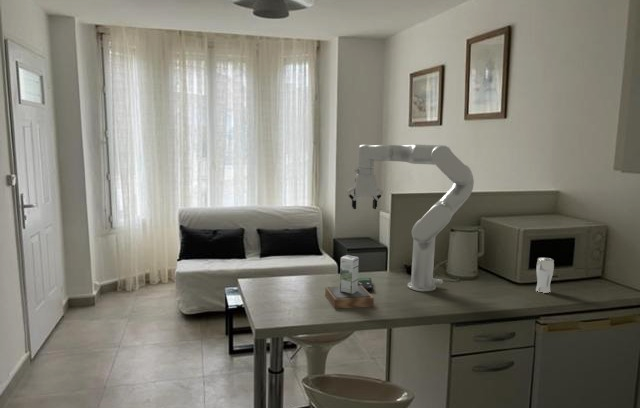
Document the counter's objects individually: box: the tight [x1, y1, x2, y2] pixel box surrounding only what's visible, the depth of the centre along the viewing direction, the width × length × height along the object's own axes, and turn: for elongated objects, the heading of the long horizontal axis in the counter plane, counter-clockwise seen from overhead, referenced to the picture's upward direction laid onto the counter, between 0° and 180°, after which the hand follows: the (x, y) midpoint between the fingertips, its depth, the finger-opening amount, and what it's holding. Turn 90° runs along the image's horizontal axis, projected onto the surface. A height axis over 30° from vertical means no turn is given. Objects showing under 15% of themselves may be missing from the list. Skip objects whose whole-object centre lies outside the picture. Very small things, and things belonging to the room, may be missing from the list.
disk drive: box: [358, 277, 374, 293], centre depth 213 cm, size 10×3×15 cm
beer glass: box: [535, 257, 555, 294], centre depth 212 cm, size 7×7×15 cm
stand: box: [324, 286, 375, 309], centre depth 193 cm, size 16×16×4 cm
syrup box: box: [339, 254, 360, 294], centre depth 192 cm, size 6×6×14 cm
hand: (364, 208), depth 218 cm, fingers open, 9 cm apart
